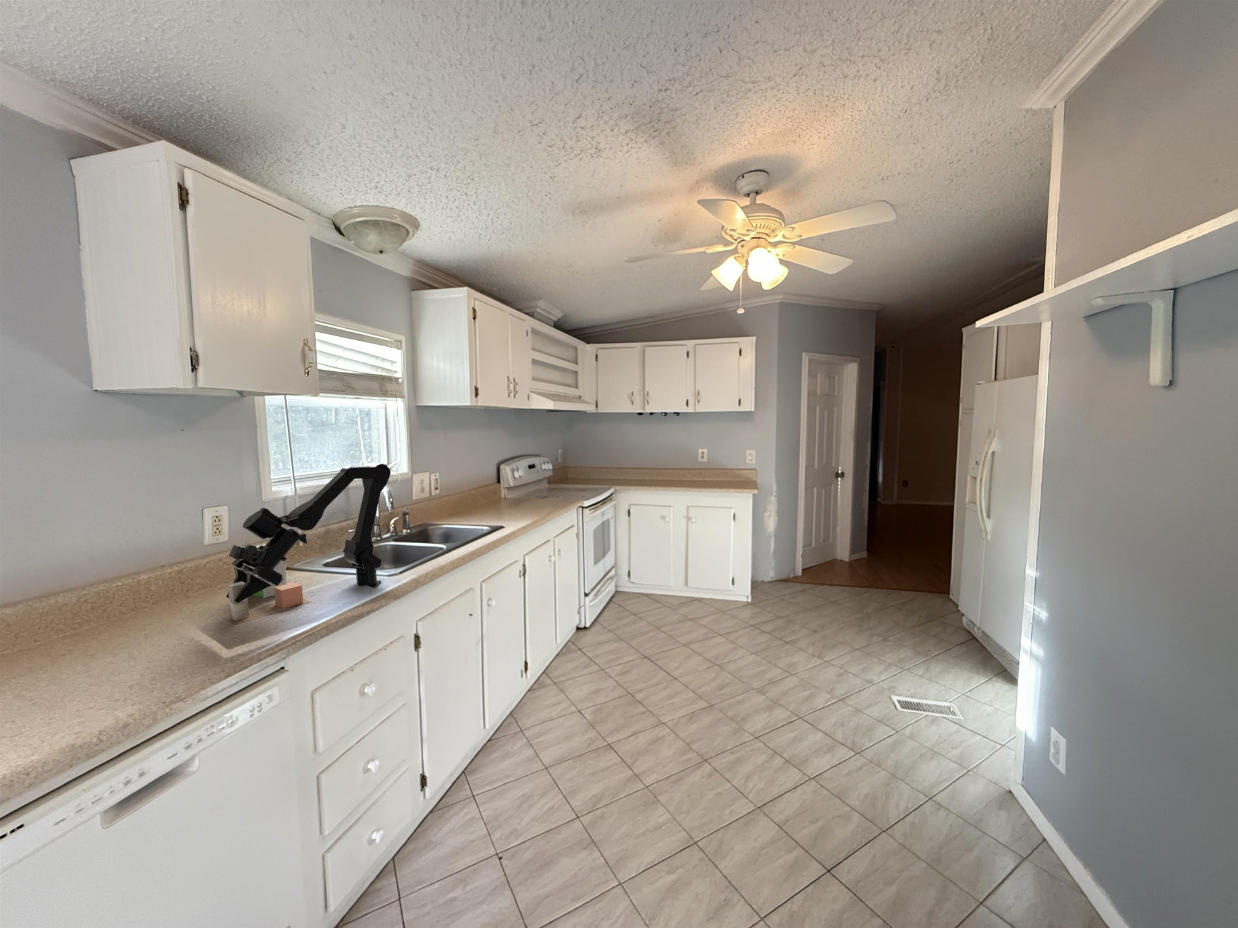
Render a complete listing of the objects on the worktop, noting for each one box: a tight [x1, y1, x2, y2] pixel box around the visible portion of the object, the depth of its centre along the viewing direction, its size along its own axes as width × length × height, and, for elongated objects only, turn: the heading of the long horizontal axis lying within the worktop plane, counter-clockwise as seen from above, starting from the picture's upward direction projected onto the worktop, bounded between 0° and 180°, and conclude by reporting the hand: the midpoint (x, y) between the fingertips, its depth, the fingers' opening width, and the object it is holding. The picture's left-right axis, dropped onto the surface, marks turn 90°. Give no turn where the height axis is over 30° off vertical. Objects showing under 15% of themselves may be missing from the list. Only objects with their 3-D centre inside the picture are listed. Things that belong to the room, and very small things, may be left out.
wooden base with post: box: [222, 582, 313, 625], centre depth 133 cm, size 18×9×10 cm, turn 145°
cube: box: [274, 581, 304, 608], centre depth 137 cm, size 5×5×5 cm
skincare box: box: [252, 543, 287, 599], centre depth 146 cm, size 8×7×16 cm
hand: (231, 599), depth 126 cm, fingers open, 5 cm apart
